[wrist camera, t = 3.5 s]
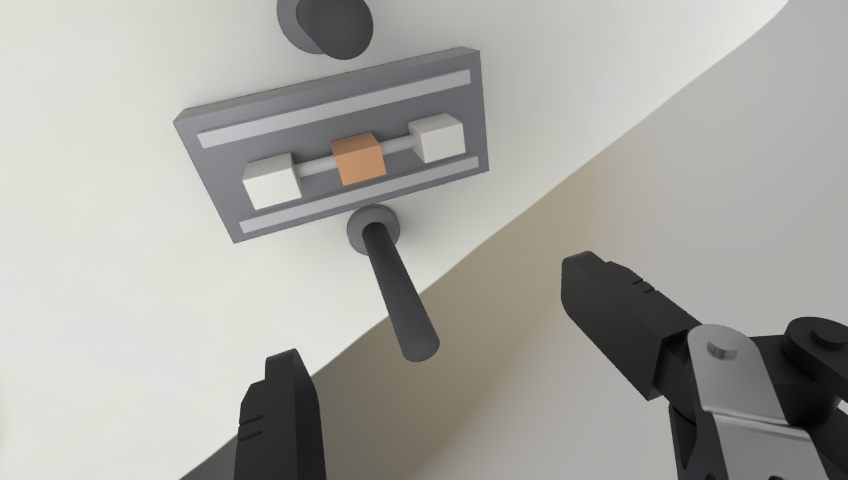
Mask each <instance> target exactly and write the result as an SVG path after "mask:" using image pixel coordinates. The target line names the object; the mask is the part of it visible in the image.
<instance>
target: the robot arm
mask: <svg viewBox="0 0 848 480" xmlns="http://www.w3.org/2000/svg"><path fill="white" fill-rule="evenodd" d="M561 283H562V284H561V301H562V304H563V307H564V309H565V311H566V313H567V314H568V316H569V317H570V318H571V319H572V320H573V321H574V322H575V323H576V324H577V326H578V327H579V328H580V329H581V330H582V331H583V332H584V333H585V334H586V335H587V336H588V337H589V338H590V340H591V341H592V342H593V343H594V344H595V345H596V346H597V347H598V348H599V349H600V350H601V351H602V353H603V354H604V355H605V356H606V357H607V358H608V359H609V360H610V361H611V362H612V363H613V364H614V365H615V367H616V368H618V370H619V371H620V372H621V373H622V374H623V375H624V376H625V377H626V378H627V379H628V381H629V382H630V383H631V384H632V385H633V386H634V387H635V388H636V389H637V390H638V391H639V392H640V394H641V395H643V397H644V398H645V399H646V400H647V401H650V400H652V399H655V398H657V397H659V396H661V395H664V397H666V399H667V400H668V401H669V402H670V403H669V407H668V408H669V418H670V425H671V431H672V438H673V446H674V453H675V460H676V467H677V475H678V480H828V479H829V480H848V415H847V414H846V413H844V412H843V411H842V410H840V409H839V408H838V407H837V406H838V405H839V403H840V402H841V400H844V401H845V402H846V403H848V327H847V326H845V325H843V324H840V323H838V322H835V321H831V320H828V319H824V318H818V317H800V318H797V319H794V320H792V321H791V322H790V323H789V325H788V327H787V329H786V331H785V333H784V335H772V336H758V337H747V336H745V335H744V334H742V333H741V332H739V331H736V330H734V329H732V328H729V327H726V326H721V325H714V324H705V325H703V324H702V323H700V322H699V321H697V320H696V319H695V318H694V317H692V316H691V315H689V314H688V313H687V312H686V311H684V310H683V309H682V308H680V307H679V306H678V305H676V304H675V303H674V302H672V301H671V300H670V299H668V298H667V297H666V296H665V295H663V294H662V293H660V292H659V291H658V290H657V291H655V289H654V287H652V286H651V285H650V284H649V283H647V282H646V281H645V282H644V281H643V279H642V278H641V277H639V276H638V275H637V274H635V273H634V272H633V271H631V270H630V269H628V268H626V267H624V266H621V265H619V264H616V263H613V262H611V261H609V262H604V261H603V260H602V259H600V258H599V257H598V256H596V255H595V254H594V253H592V252H590V251H585V252H582V253H579V254H576V255H573V256H570V257H567V258H565V259H564V260H563V262H562V279H561ZM239 424H240V427H239V429H238V443H237V450H236V459H235V470H234V480H327V479H326V469H325V459H324V448H323V439H322V429H321V418H320V408H319V401H318V397H317V393H316V390H315V387H314V384H313V382H312V380H311V378H310V376H309V374H308V371H307V369H306V367H305V365H304V363H303V361H302V359H301V357H300V355H299V353H298V351H297V350H296V349H295V348H294V349H291V350H288V351H285V352H282V353H279V354H276V355H273V356H270V357H267V358H266V362H265V380H262V381H259V382H256V383H253V384H251V385H250V387H249V389H248V391H247V393H246V395H245V397H244V399H243V401H242V403H241V408H240V418H239Z"/></svg>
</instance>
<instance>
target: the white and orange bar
mask: <svg viewBox="0 0 848 480" xmlns="http://www.w3.org/2000/svg"><path fill="white" fill-rule="evenodd" d="M408 128H409V133H410V135H407V136H403V137H399V138H396V139H392V140H388V141H384V142H380V143H378V141H377V140H376V138H375V137H374V136H373V134H372V133H371V132H368V133H364V134H360V135H356V136H352V137H348V138H344V139H340V140H336V141H332V142H330V146H331V149H332V152H333V155H330V156H327V157H323V158H319V159H315V160H311V161H307V162H304V163H300V164H296V165H294V162H293V159H292V156H291V153H290V152H289V153H285V154H281V155H277V156H273V157H270V158H266V159H262V160H258V161H254V162H250V163H246V166H245V170H244V175H243V180H242V181H243V183H244V186H245V188H246V190H247V192H248V195H249V197H250V199H251V201H252V204H253V206H254V208H255V210H258V209H261V208H265V207H269V206H272V205H276V204H280V203H283V202H287V201H290V200H294V199H298V198H301V197H302V194H301V185H300V179H299V178H301V177H305V176H309V175H312V174H316V173H320V172H324V171H327V170H331V169H335V168H337V169H338V172H339V175H340V178H341V181H342V184H343V186H345V185H349V184H352V183H356V182H360V181H363V180H367V179H370V178H374V177H378V176H381V175H385V174H387V173H386V169H385V165H384V160H383V156H384V155H387V154H391V153H395V152H399V151H402V150H406V149H410V148H412V149H413V151H414V152H415V153H416V154H417V155H418V156H419V157H420V158H421V159H422V160H423V162H424V163H429V162H432V161H436V160H440V159H443V158H447V157H450V156H454V155H458V154H461V153H465V152H466V151H465V142H464V133H463V124H462V123H461V122H460V121H458V120H457V119H455V118H454V117H452V116H451V115H449V114H448V113H442V114H438V115H434V116H430V117H426V118H422V119H419V120H415V121H411V122H408Z"/></svg>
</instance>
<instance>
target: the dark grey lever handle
mask: <svg viewBox="0 0 848 480" xmlns="http://www.w3.org/2000/svg"><path fill="white" fill-rule="evenodd" d="M347 234H348V238H349V241H350V244H351V245H352V247H353V248H354V249H355V250H356V251H357V252H359V253H361V254H363V255H367V256H369V258H370V261H371V264H372V267H373V270H374V273H375V276H376V279H377V281H378V284H379V287H380V290H381V293H382V296H383V299H384V301H385V304H386V307H387V310H388V313H389V316H390V319H391V321H392V324H393V327H394V330H395V333H396V336H397V339H398V342H399V344H400V347H401V350H402V353H403V356H404V357H405V358H406V359H407V360H409V361H412V362H421V361H424V360H426V359H428V358H430V357H431V356H433V355H434V354H435V353H436V352H437V350H438V348H439V345H440V342H439V338H438V336H437V334H436V332H435V330H434V328H433V326H432V324H431V321H430V319H429V317H428V315H427V313H426V311H425V309H424V307H423V304H422V302H421V300H420V298H419V296H418V294H417V292H416V290H415V287H414V285H413V283H412V281H411V279H410V277H409V275H408V273H407V271H406V268H405V266H404V264H403V262H402V260H401V258H400V256H399V254H398V251H397V249H396V247H395V244H396V242H397V241H398V238H399V235H400V227H399V223H398V221H397V219H396V218H395V216H394V214H393V213H392V212H391V211H390V210H389V209H388V208H386V207H384V206H381V205H368V206H364V207H362V208H360V209H358V210H357V211H355V212H354V213H353V214H352V216H351V217H350V219H349V221H348V224H347Z"/></svg>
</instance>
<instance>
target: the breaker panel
mask: <svg viewBox="0 0 848 480" xmlns="http://www.w3.org/2000/svg"><path fill="white" fill-rule="evenodd" d="M442 113H448V114H449V115H451V116H452V117H454V118H455V119H457V120H458V121H460V122H461V123H462V124H463V133H464V142H465V151H466V152H465V153H461V154H458V155H454V156H450V157H447V158H443V159H440V160H436V161H432V162H429V163H424V162H423V160H422V159H421V158H420V157H419V156H418V155H417V154H416V153H415V152H414V151H413V149H412V148H410V149H406V150H402V151H399V152H395V153H391V154H387V155H384V156H383V160H384V165H385V169H386V173H387V174H385V175H381V176H378V177H374V178H370V179H367V180H363V181H360V182H356V183H352V184H349V185H345V186H343V184H342V181H341V178H340V175H339V172H338V169H337V168H335V169H331V170H327V171H324V172H320V173H316V174H312V175H309V176H305V177H301V178H299V179H300V185H301V194H302V197H301V198H298V199H294V200H290V201H287V202H283V203H280V204H276V205H272V206H269V207H265V208H261V209H258V210H255V208H254V206H253V204H252V201H251V199H250V197H249V195H248V192H247V190H246V188H245V186H244V183H243V181H242V180H243V175H244V170H245V166H246V163H250V162H254V161H258V160H262V159H266V158H270V157H273V156H277V155H281V154H285V153H289V152H290V153H291V156H292V159H293V162H294V165H296V164H300V163H304V162H307V161H311V160H315V159H319V158H323V157H327V156H330V155H333V152H332V149H331V146H330V142H332V141H336V140H340V139H344V138H348V137H352V136H356V135H360V134H364V133H368V132H371V133H372V134H373V136H374V137H375V138H376V140H377V141H378V143H380V142H384V141H388V140H392V139H396V138H399V137H403V136H407V135H410V133H409V128H408V122H411V121H415V120H419V119H422V118H426V117H430V116H434V115H438V114H442ZM173 124H174V126H175V128H176V130H177V132H178V134H179V136H180V138H181V140H182V142H183V144H184V146H185V148H186V150H187V152H188V154H189V156H190V158H191V160H192V162H193V164H194V166H195V168H196V170H197V172H198V174H199V176H200V178H201V180H202V182H203V184H204V185H205V187H206V189H207V191H208V193H209V195H210V197H211V199H212V201H213V203H214V205H215V207H216V209H217V211H218V213H219V215H220V217H221V219H222V221H223V223H224V225H225V227H226V229H227V231H228V233H229V235H230V237H231V239H232V241H233V243H234V244H235V243H238V242H242V241H245V240H249V239H252V238H256V237H259V236H263V235H266V234H270V233H273V232H277V231H280V230H284V229H287V228H291V227H294V226H298V225H301V224H305V223H308V222H312V221H315V220H319V219H322V218H326V217H329V216H333V215H336V214H340V213H343V212H347V211H350V210H354V209H357V208H361V207H364V206H368V205H371V204H375V203H378V202H382V201H385V200H389V199H392V198H396V197H399V196H403V195H406V194H410V193H413V192H417V191H420V190H424V189H427V188H431V187H434V186H438V185H441V184H445V183H448V182H452V181H455V180H458V179H462V178H465V177H469V176H472V175H476V174H479V173H483V172H486V171H489V165H488V152H487V139H486V127H485V114H484V101H483V89H482V76H481V63H480V51H478V50H474V49H469V48H465V47H457V48H453V49H449V50H444V51H440V52H435V53H431V54H427V55H422V56H418V57H413V58H409V59H405V60H400V61H396V62H391V63H387V64H383V65H378V66H374V67H370V68H365V69H361V70H356V71H352V72H348V73H343V74H339V75H334V76H330V77H326V78H321V79H317V80H312V81H308V82H304V83H299V84H295V85H290V86H286V87H282V88H277V89H273V90H268V91H264V92H260V93H255V94H251V95H246V96H242V97H238V98H233V99H229V100H224V101H220V102H216V103H211V104H207V105H202V106H198V107H194V108H189V109H185V110H183V111H182V112H181V113H180V114H179V115H178V116H177V117H176V119H175V120H174V121H173Z"/></svg>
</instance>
